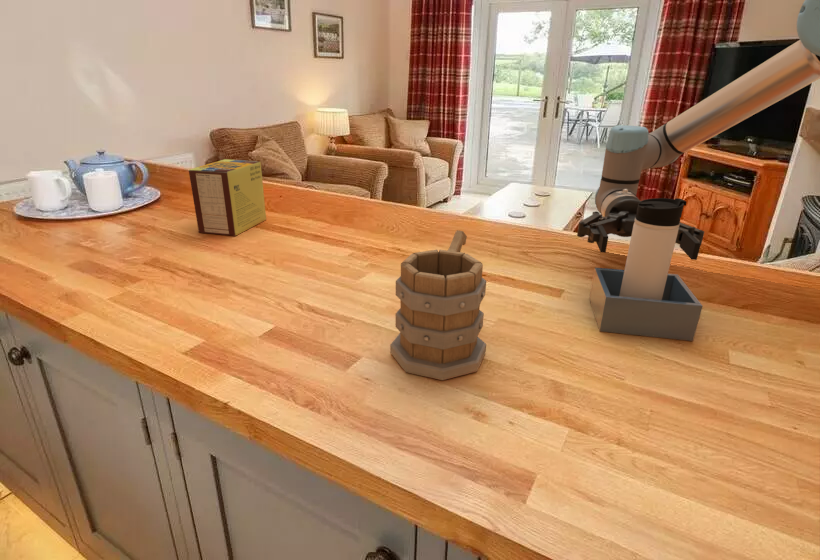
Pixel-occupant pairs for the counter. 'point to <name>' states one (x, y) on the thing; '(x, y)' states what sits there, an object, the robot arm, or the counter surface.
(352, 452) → the counter surface
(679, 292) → the holder
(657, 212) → the travel mug
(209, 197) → the protein box
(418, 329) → the tankard
